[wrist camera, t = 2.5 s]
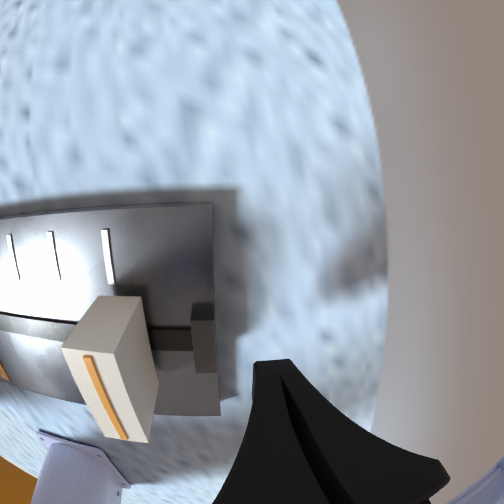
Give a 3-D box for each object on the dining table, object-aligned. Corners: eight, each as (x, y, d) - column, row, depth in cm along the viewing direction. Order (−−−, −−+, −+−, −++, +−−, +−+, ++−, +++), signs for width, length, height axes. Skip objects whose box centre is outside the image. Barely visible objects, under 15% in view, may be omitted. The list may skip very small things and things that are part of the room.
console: (219, 401, 15) (221, 425, 13) (-31, 357, 12) (-40, 368, 10) (212, 202, 11) (211, 209, 10) (-70, 229, 8) (-85, 235, 6)
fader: (159, 383, 12) (148, 445, 8) (122, 380, 12) (104, 438, 8) (141, 296, 10) (113, 356, 7) (98, 295, 10) (59, 349, 6)
